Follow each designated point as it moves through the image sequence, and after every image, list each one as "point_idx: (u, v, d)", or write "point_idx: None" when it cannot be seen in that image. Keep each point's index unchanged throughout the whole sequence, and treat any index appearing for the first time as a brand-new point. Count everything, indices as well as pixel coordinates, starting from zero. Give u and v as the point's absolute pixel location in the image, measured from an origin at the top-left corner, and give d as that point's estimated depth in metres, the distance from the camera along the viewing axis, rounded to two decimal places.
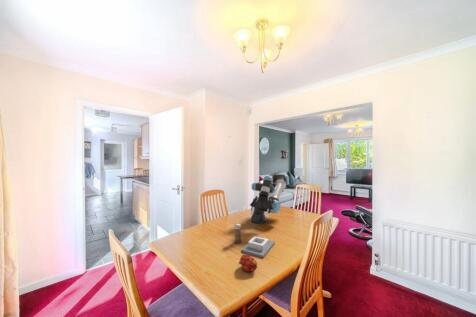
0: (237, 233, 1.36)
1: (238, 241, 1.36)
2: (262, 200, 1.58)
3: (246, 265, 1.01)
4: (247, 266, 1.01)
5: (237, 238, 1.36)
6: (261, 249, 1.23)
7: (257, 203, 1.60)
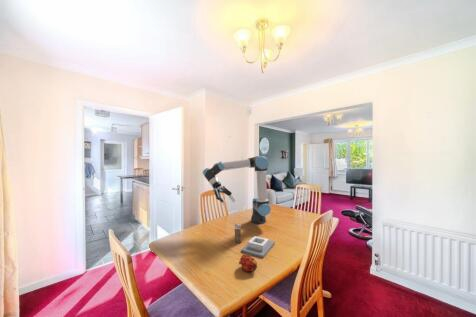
0: (237, 233, 1.36)
1: (238, 241, 1.36)
2: None
3: (246, 265, 1.01)
4: (247, 266, 1.01)
5: (237, 238, 1.36)
6: (261, 249, 1.23)
7: (225, 192, 1.58)
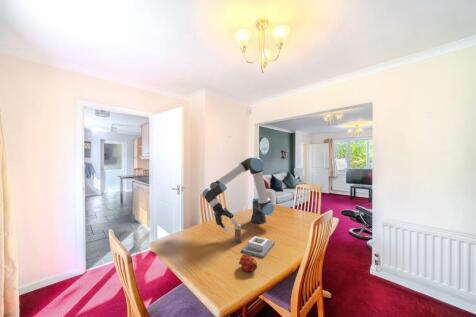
0: (237, 233, 1.36)
1: (238, 241, 1.36)
2: None
3: (246, 265, 1.01)
4: (247, 266, 1.01)
5: (237, 238, 1.36)
6: (261, 249, 1.23)
7: (227, 215, 1.47)
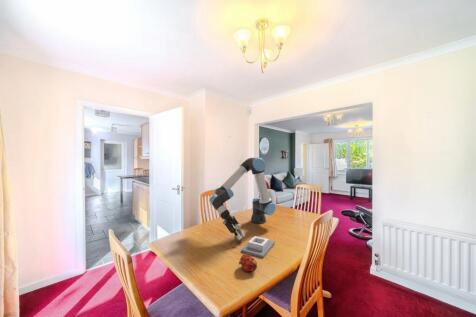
0: None
1: (238, 241, 1.36)
2: None
3: (246, 265, 1.01)
4: (247, 266, 1.01)
5: (237, 238, 1.36)
6: (261, 249, 1.23)
7: (233, 223, 1.42)
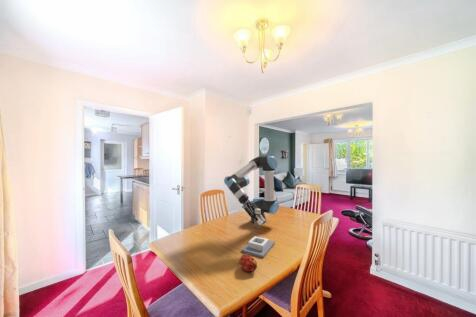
0: None
1: (258, 226, 1.28)
2: None
3: (246, 265, 1.01)
4: (247, 266, 1.01)
5: (257, 223, 1.28)
6: (261, 249, 1.23)
7: (253, 208, 1.33)
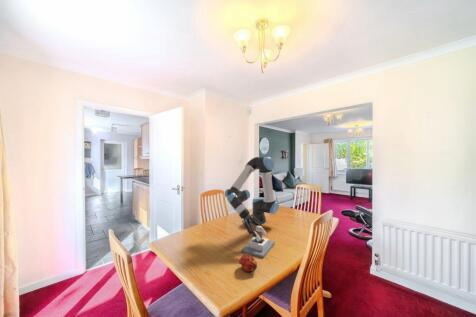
0: (258, 235, 1.28)
1: None
2: None
3: (246, 265, 1.01)
4: (247, 266, 1.01)
5: (258, 241, 1.28)
6: (261, 249, 1.23)
7: (254, 222, 1.35)
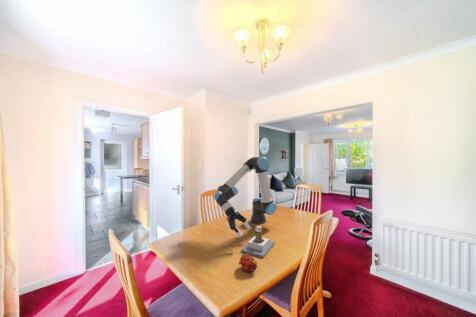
0: (258, 236, 1.28)
1: None
2: None
3: (246, 265, 1.01)
4: (247, 266, 1.01)
5: (258, 241, 1.28)
6: (261, 249, 1.23)
7: (239, 219, 1.42)
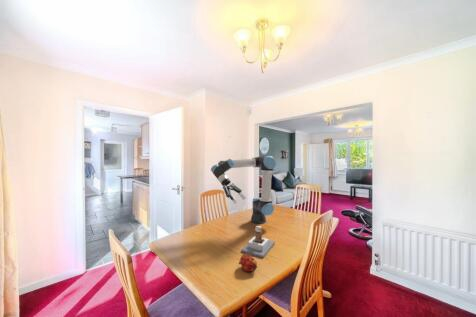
0: (258, 236, 1.28)
1: None
2: None
3: (246, 265, 1.01)
4: (247, 266, 1.01)
5: (258, 241, 1.28)
6: (261, 249, 1.23)
7: (235, 189, 1.51)
